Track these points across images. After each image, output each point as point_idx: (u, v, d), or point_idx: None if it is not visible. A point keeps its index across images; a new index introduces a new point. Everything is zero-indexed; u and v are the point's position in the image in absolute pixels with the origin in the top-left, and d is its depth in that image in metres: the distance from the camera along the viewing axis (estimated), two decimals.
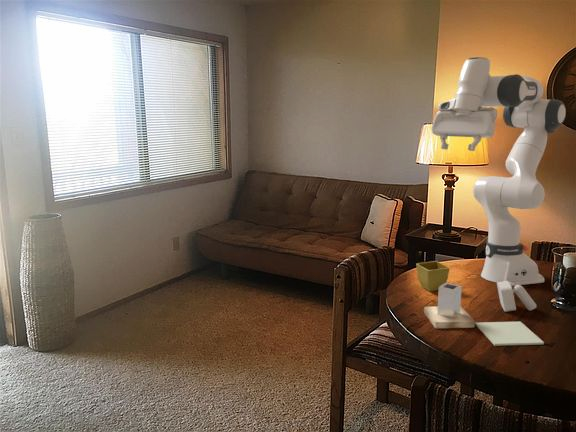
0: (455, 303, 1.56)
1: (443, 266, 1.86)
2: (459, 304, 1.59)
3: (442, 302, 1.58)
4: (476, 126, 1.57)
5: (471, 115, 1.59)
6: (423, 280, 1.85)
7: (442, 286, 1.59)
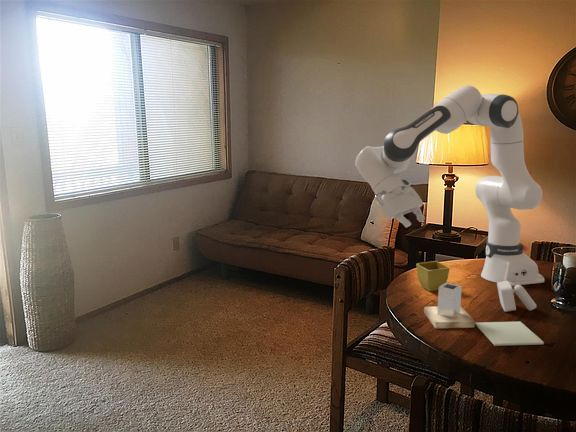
0: (455, 303, 1.56)
1: (443, 266, 1.86)
2: (459, 304, 1.59)
3: (442, 302, 1.58)
4: None
5: None
6: (423, 280, 1.85)
7: (442, 286, 1.59)
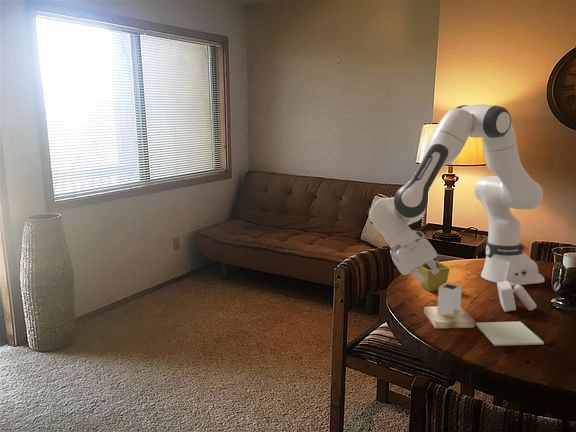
0: (455, 303, 1.56)
1: (443, 266, 1.86)
2: (459, 304, 1.59)
3: (442, 302, 1.58)
4: None
5: None
6: None
7: (442, 286, 1.59)
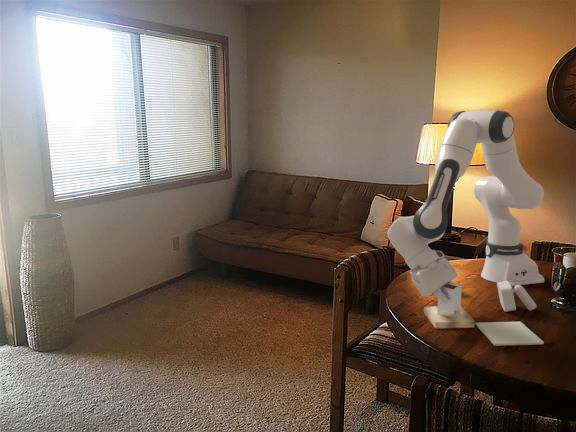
0: (455, 303, 1.56)
1: None
2: (459, 304, 1.59)
3: (442, 302, 1.58)
4: None
5: None
6: None
7: (442, 286, 1.59)
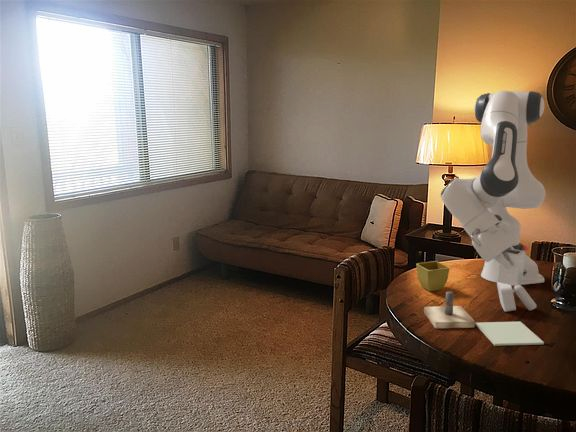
0: (519, 269, 1.43)
1: (443, 266, 1.86)
2: (522, 271, 1.46)
3: (504, 268, 1.45)
4: None
5: None
6: (423, 280, 1.85)
7: (504, 251, 1.46)
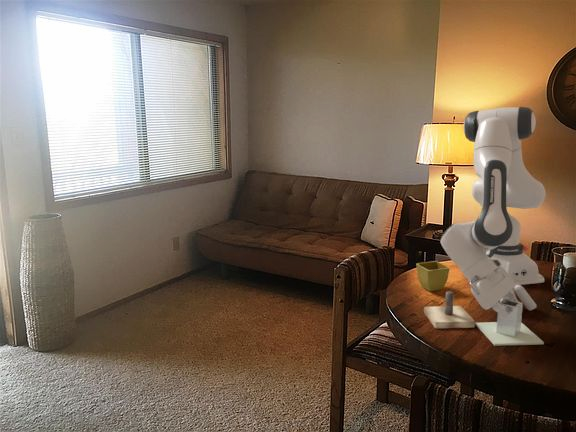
0: (516, 321, 1.46)
1: (443, 266, 1.86)
2: (520, 322, 1.49)
3: (502, 320, 1.48)
4: None
5: None
6: (423, 280, 1.85)
7: (502, 303, 1.49)
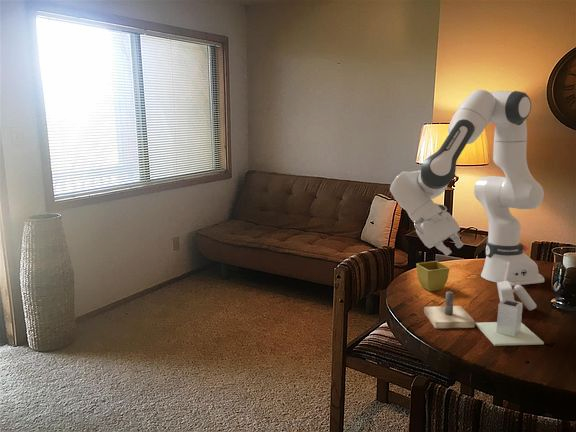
0: (516, 321, 1.46)
1: (443, 266, 1.86)
2: (520, 322, 1.49)
3: (502, 320, 1.48)
4: None
5: None
6: (423, 280, 1.85)
7: (502, 303, 1.49)
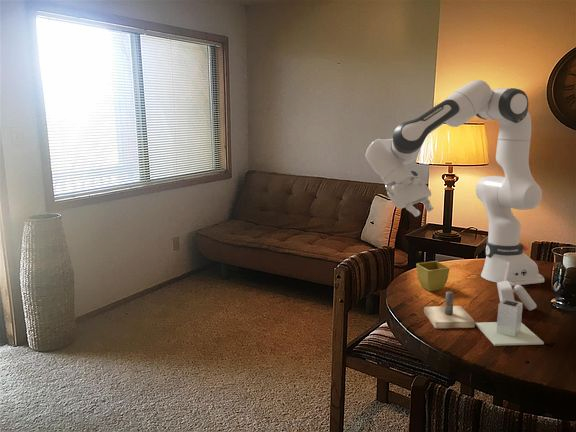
0: (516, 321, 1.46)
1: (443, 266, 1.86)
2: (520, 322, 1.49)
3: (502, 320, 1.48)
4: None
5: None
6: (423, 280, 1.85)
7: (502, 303, 1.49)
